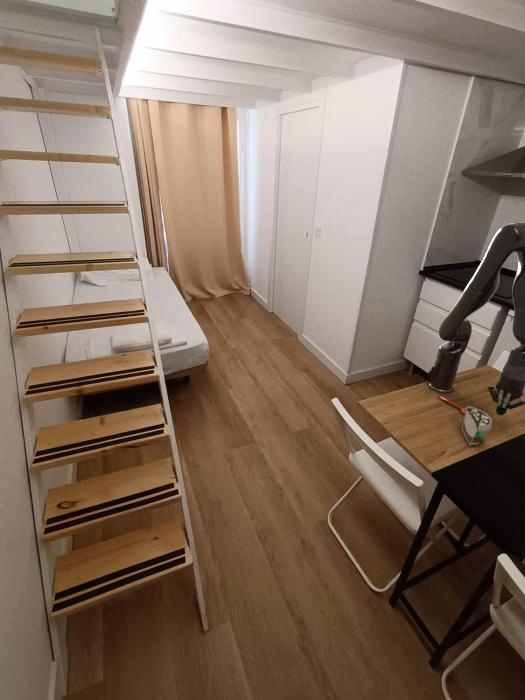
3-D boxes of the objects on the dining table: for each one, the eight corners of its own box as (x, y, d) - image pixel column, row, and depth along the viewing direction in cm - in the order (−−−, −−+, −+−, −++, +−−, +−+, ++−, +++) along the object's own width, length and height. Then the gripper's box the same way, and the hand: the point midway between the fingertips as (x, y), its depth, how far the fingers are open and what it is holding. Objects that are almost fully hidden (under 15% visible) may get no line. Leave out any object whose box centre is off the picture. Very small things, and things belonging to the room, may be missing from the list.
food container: (490, 451, 116) (499, 428, 111) (471, 448, 117) (479, 426, 112) (477, 428, 127) (485, 407, 122) (460, 426, 128) (467, 405, 123)
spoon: (436, 399, 144) (437, 397, 143) (443, 396, 146) (443, 394, 145) (468, 417, 133) (469, 415, 132) (475, 414, 134) (475, 412, 134)
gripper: (541, 380, 113) (524, 420, 121) (501, 364, 124) (487, 402, 131) (530, 386, 110) (513, 427, 118) (489, 369, 120) (476, 407, 128)
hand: (499, 414), depth 124 cm, fingers closed
